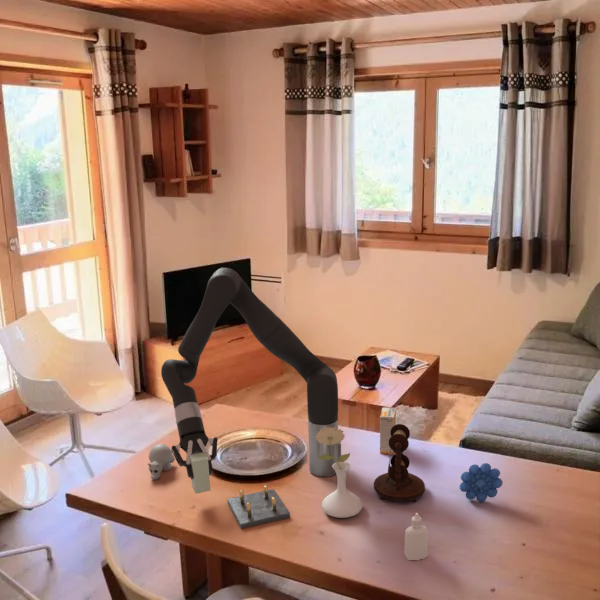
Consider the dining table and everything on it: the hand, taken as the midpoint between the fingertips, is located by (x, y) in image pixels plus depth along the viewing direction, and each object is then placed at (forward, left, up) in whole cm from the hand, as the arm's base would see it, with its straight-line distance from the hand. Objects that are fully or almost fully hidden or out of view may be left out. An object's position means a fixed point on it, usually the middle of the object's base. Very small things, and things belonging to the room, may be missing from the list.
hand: (201, 476), depth 193 cm
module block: (0, -2, -5) cm, 5 cm away
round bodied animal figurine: (+8, -25, -10) cm, 28 cm away
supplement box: (-65, -11, -10) cm, 66 cm away
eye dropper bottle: (-44, +44, -10) cm, 63 cm away
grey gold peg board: (-14, +8, -9) cm, 19 cm away
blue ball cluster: (-74, +28, -10) cm, 80 cm away
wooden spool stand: (-55, +15, -10) cm, 58 cm away
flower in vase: (-35, +17, -10) cm, 40 cm away
